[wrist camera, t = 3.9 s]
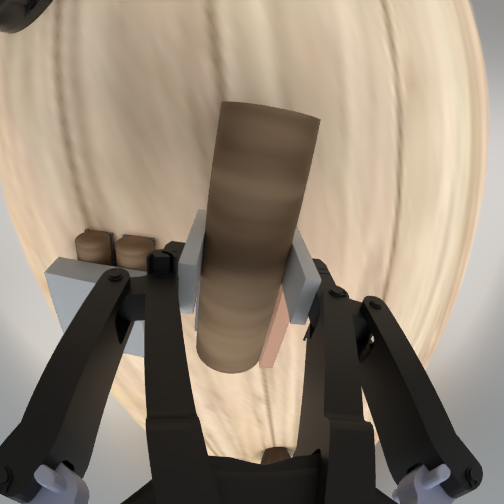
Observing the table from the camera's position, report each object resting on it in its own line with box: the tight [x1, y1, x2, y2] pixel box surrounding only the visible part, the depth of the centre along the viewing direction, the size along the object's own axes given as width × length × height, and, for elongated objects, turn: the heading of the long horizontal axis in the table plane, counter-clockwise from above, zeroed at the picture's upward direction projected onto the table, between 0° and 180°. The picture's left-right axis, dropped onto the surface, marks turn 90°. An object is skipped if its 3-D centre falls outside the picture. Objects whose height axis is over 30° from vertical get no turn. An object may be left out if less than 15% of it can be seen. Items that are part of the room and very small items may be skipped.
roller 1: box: [75, 230, 112, 266], centre depth 36 cm, size 16×5×5 cm, turn 170°
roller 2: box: [115, 235, 153, 272], centre depth 37 cm, size 16×5×5 cm, turn 170°
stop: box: [259, 284, 290, 368], centre depth 38 cm, size 16×2×7 cm, turn 170°
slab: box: [45, 257, 147, 357], centre depth 32 cm, size 12×14×4 cm
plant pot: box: [261, 447, 291, 465], centre depth 68 cm, size 15×15×16 cm
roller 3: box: [196, 102, 320, 374], centre depth 15 cm, size 16×5×5 cm, turn 170°
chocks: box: [85, 230, 201, 331], centre depth 39 cm, size 16×23×1 cm
